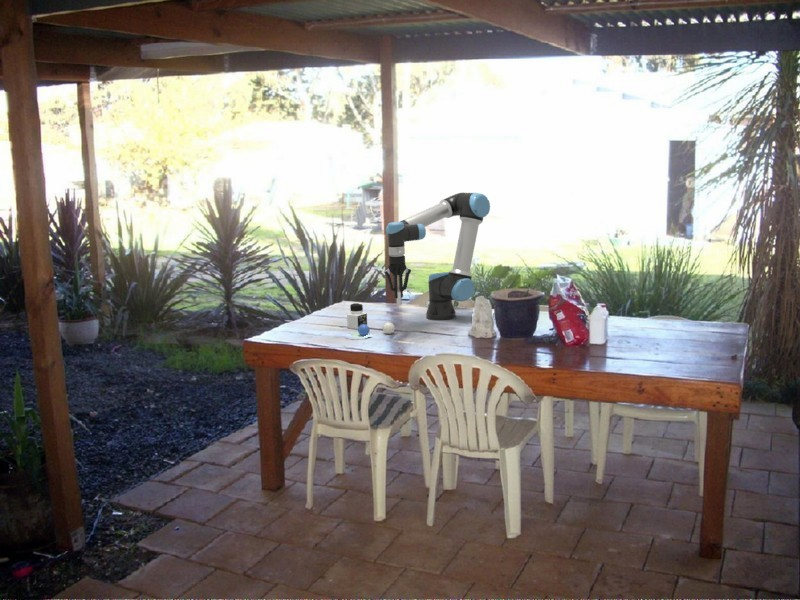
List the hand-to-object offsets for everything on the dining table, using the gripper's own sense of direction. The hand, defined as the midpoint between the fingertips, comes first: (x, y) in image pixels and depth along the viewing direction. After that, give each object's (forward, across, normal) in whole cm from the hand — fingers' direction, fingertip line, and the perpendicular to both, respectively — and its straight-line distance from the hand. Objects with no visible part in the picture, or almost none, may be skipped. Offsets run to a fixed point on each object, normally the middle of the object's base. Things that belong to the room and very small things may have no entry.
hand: (399, 304), depth 386 cm
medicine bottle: (+14, -17, +19) cm, 29 cm away
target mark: (+13, -20, 0) cm, 24 cm away
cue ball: (+11, -6, 0) cm, 12 cm away
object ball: (+11, -18, 0) cm, 21 cm away
